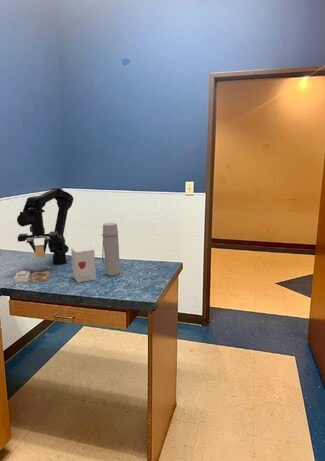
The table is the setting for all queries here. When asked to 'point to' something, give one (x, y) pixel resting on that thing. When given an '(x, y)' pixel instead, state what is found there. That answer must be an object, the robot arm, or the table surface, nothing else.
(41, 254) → the orange block
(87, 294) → the table surface
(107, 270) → the water bottle
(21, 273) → the block
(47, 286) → the table surface
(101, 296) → the table surface
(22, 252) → the table surface
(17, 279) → the clip
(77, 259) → the supplement box
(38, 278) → the holder
